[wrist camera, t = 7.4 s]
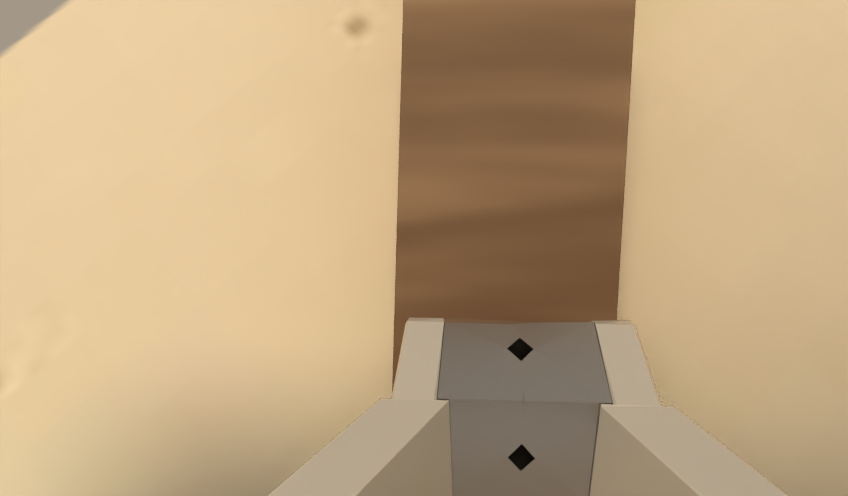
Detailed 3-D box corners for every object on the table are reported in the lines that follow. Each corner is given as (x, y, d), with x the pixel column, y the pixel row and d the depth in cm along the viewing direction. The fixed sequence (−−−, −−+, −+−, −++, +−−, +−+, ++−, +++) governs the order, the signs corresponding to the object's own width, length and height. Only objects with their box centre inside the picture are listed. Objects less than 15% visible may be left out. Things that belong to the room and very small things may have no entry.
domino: (609, 436, 14) (636, -20, 14) (391, 420, 15) (404, -19, 14) (597, 412, 16) (621, 2, 15) (401, 398, 17) (413, 2, 16)
